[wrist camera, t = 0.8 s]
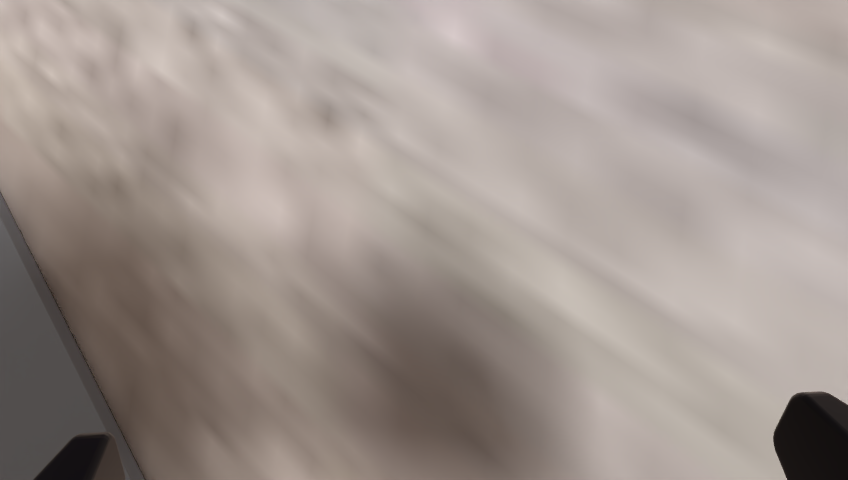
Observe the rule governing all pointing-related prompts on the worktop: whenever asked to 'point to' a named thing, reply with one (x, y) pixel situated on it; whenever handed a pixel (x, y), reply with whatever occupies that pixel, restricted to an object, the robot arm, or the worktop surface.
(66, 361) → the mat
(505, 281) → the worktop surface
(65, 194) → the worktop surface
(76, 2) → the worktop surface
